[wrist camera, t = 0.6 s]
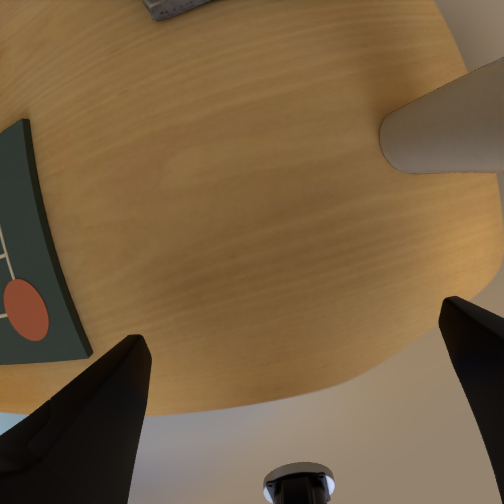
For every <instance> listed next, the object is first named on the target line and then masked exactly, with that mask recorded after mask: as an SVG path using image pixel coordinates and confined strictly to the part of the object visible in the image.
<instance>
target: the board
mask: <svg viewBox="0 0 504 504" xmlns="http://www.w3.org/2000/svg"><path fill="white" fill-rule="evenodd" d="M92 354H93V351H92V349H91V347H90V344H89V342H88V340H87V337H86V335H85V333H84V330H83V328H82V325H81V323H80V320H79V318H78V315H77V313H76V310H75V308H74V305H73V302H72V300H71V297H70V294H69V291H68V288H67V286H66V283H65V280H64V277H63V274H62V271H61V268H60V264H59V261H58V258H57V255H56V251H55V248H54V244H53V241H52V237H51V234H50V230H49V226H48V222H47V218H46V214H45V210H44V206H43V201H42V197H41V192H40V187H39V182H38V177H37V171H36V166H35V160H34V153H33V147H32V139H31V132H30V123H29V120H28V119H23V118H22V119H20V120H19V121H17V122H16V123H14V124H13V125H12V126H10V127H9V128H7V129H6V130H4V131H3V132H2V133H0V365H10V364H28V363H43V362H55V361H67V360H77V359H87V358H89V357H90V356H91V355H92Z"/></svg>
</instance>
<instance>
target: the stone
mask: <svg viewBox="0 0 504 504" xmlns="http://www.w3.org/2000/svg"><path fill="white" fill-rule="evenodd" d="M142 1H143V3H144V4H145V5H146V7H147V8H148V10H149V12H150V14H151V15H152V18H153V20H157V21H159V20H162V19H166V18H169V17H173V16H176V15H178V14H181V13H183V12H185V11H187V10H189V9H192V8H194V7H196V6H199V5H201V4H203V3H206V2H209V1H212V0H142Z"/></svg>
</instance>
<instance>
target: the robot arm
mask: <svg viewBox="0 0 504 504" xmlns="http://www.w3.org/2000/svg"><path fill="white" fill-rule="evenodd" d="M439 328H440V331H441V333H442V336H443V339H444V341H445V344H446V347H447V350H448V353H449V356H450V359H451V362H452V364H453V367H454V369H455V372H456V374H457V376H458V378H459V381H460V383H461V385H462V387H463V390H464V392H465V394H466V397H467V399H468V402H469V404H470V407H471V409H472V411H473V414H474V417H475V419H476V421H477V424H478V427H479V430H480V432H481V435H482V438H483V441H484V443H485V446H486V449H487V452H488V455H489V458H490V461H491V465H492V467H493V470H494V474H495V478H496V482H497V485H498V489H499V492H500V496H501V500H502V504H504V318H502V317H500V316H498V315H496V314H494V313H492V312H490V311H488V310H485V309H483V308H481V307H479V306H477V305H475V304H473V303H471V302H468V301H466V300H464V299H462V298H460V297H458V296H452V297H447V298H445V299H444V300H443V303H442V307H441V312H440V316H439ZM151 365H152V357H151V353H150V351H149V349H148V346H147V344H146V342H145V339H144V337H143V336H142V335H140V334H134V335H128V336H127V337H125V338H124V339H123V340H122V341H120V342H119V343H118V344H117V345H115V346H114V347H113V348H112V349H111V350H109V351H108V352H107V353H106V354H104V355H103V356H102V357H101V358H99V359H98V360H97V361H96V362H94V363H93V364H92V365H91V366H89V367H88V368H87V369H86V370H85V371H83V372H82V373H81V374H80V375H78V376H77V377H76V378H75V379H73V380H72V381H71V382H70V383H69V384H67V385H66V386H65V387H64V388H62V389H61V390H60V391H59V392H57V393H56V394H55V395H54V396H53V397H51V398H50V400H48V401H46V402H45V403H44V404H43V405H42V406H40V407H39V408H38V409H37V410H35V411H34V412H33V413H32V414H30V415H29V416H28V417H26V418H25V419H23V420H22V421H21V422H19V423H18V424H16V425H15V426H14V427H12V428H11V429H9V430H8V431H6V432H5V433H3V434H2V435H0V504H127V503H128V497H129V491H130V485H131V479H132V474H133V469H134V464H135V459H136V453H137V449H138V444H139V439H140V434H141V429H142V425H143V420H144V416H145V411H146V406H147V399H148V390H149V381H150V373H151ZM266 488H267V490H268V492H269V495H270V497H271V499H272V501H273V503H274V504H327V502H329V501H330V494H329V489H328V484H327V479H326V473H325V472H318V473H313V474H308V475H302V476H297V477H291V478H285V479H278V480H271V481H267V482H266Z"/></svg>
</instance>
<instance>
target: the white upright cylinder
mask: <svg viewBox="0 0 504 504" xmlns="http://www.w3.org/2000/svg"><path fill="white" fill-rule="evenodd" d="M380 145H381V148H382V151H383V154H384V155H385V157H386V159H387V160H388V162H389V163H390V164H391V165H392V166H393V167H394V168H396V169H397V170H399V171H401V172H403V173H406V174H439V173H504V57H502V58H500V59H498V60H496V61H493V62H492V63H489V64H487V65H485V66H482V67H480V68H478V69H477V70H474V71H472V72H470V73H468V74H466V75H464V76H461V77H459V78H457V79H455V80H453V81H451V82H449V83H447V84H445V85H443V86H441V87H439V88H437V89H435V90H433V91H431V92H429V93H427V94H425V95H424V96H422V97H420V98H418V99H416V100H414V101H412V102H410V103H408V104H406V105H404V106H402V107H401V108H399V109H397V110H395V111H393V112H391V113H390V114H389V115H388V116H387V117H386V118H385V119H384V121H383V123H382V125H381V128H380Z"/></svg>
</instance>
